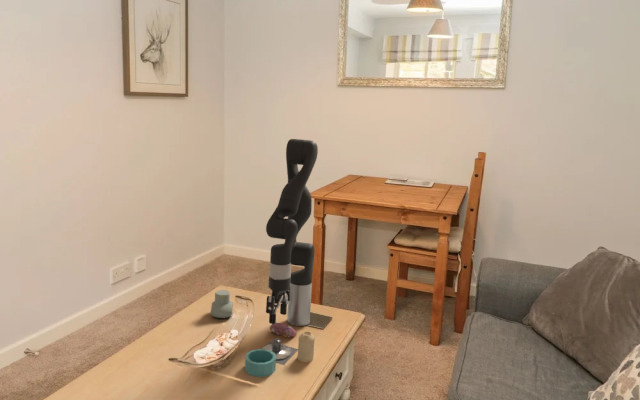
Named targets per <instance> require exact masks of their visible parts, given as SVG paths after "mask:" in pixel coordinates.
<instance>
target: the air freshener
mask: <svg viewBox="0 0 640 400" xmlns="http://www.w3.org/2000/svg"><path fill="white" fill-rule="evenodd" d="M230 294H231V293H230V291H229V290H227V289H226V290H225V289H220V290H216V292H215V293H214V301H212V302H211V306H210V315H211V316H213V317H214V318H217V319H226V318H229V317H231V316H232V315H233V311H234V310H233V307H234V303H233V302H232V301H231V299H230Z"/></svg>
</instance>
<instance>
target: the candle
mask: <svg viewBox="0 0 640 400" xmlns="http://www.w3.org/2000/svg"><path fill="white" fill-rule="evenodd" d="M297 346H298V347H297V349H298V351H297V359H298V361H299V362H302V363H310V362H312V361H313V360H314V354H315V336H314V334H312V333H311V332H310V331H304V332H302V333H301V334H300V335H299V336H298V345H297Z"/></svg>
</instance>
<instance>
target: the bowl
mask: <svg viewBox="0 0 640 400" xmlns="http://www.w3.org/2000/svg"><path fill="white" fill-rule="evenodd" d="M244 357H245V361H244V363H245V364H244V365H245V366H244V370H245V372H246V373H247V374H248V375H249V376H252V377H256V378H264V377H268V376H270V375H273V374H274V373H275V372H276V369H277V368H276V366H277V365H276V364H277V363H276V354H275V353H273V352H272V351H270V350H266V349H262V348H257V349H253V350H250V351H248V352H247V353H246V354H245V356H244Z"/></svg>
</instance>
